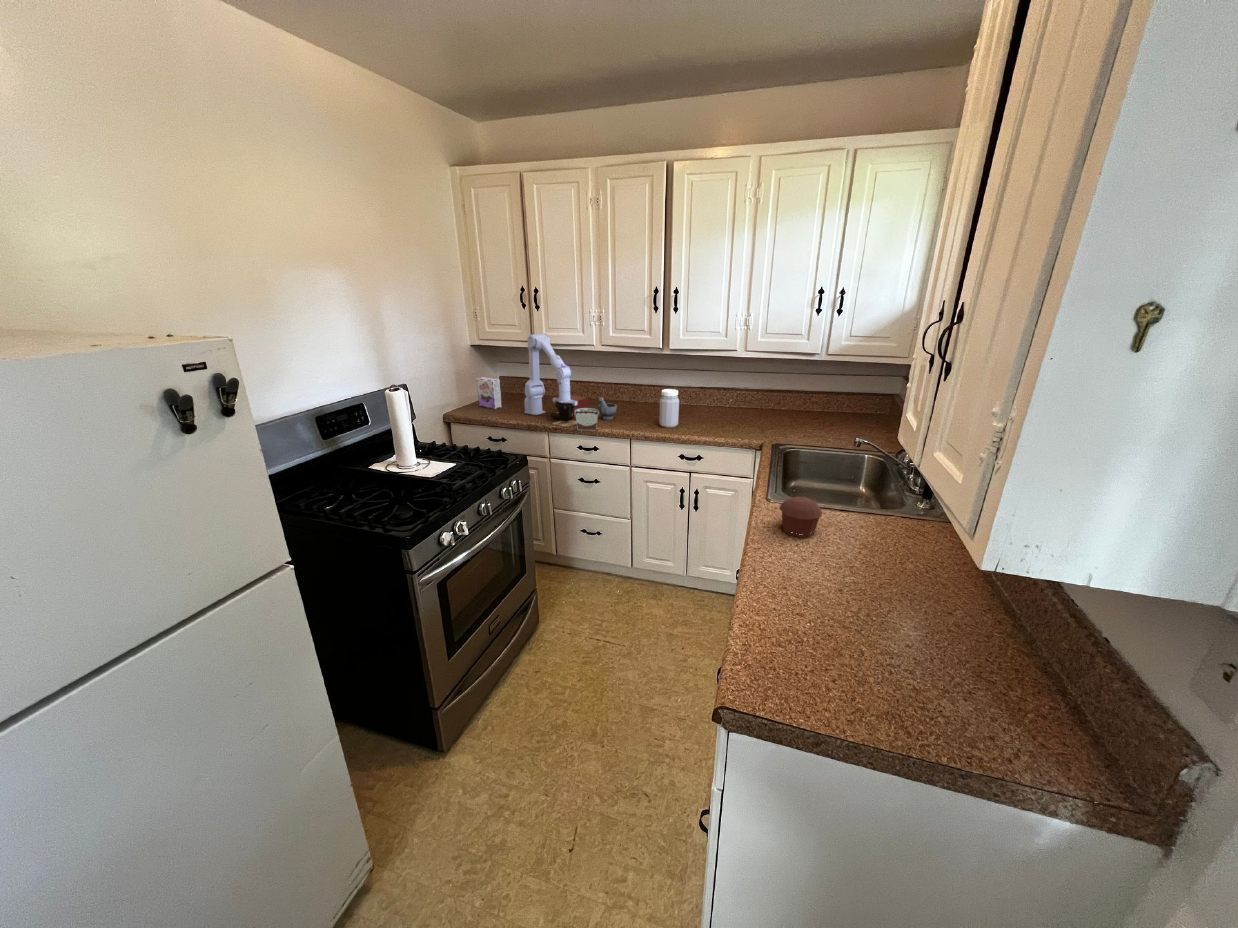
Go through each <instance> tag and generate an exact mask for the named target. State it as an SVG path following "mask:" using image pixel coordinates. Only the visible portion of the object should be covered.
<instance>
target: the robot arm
mask: <svg viewBox="0 0 1238 928" xmlns="http://www.w3.org/2000/svg"><path fill="white" fill-rule="evenodd" d="M526 341H527V350H528V365H529V366H528V369H529V380H527V381H526V382H525V384H524V395H525V398H524V412H523V413H524V414H529V415H533V416H538V415H542V414H546V412H547V411H545V410H543V397H544V395H545V393H546V390H545V389H546V388H545V386H544V382H543V381H542V380H541V378H540V377H541V375H540V351H541V350H543V352H544V353H545V354H546V356H547V357H548V358H549V363H550V365H551V367H552V368H553V370H554V371H555V377H556V381H557V383H558V397H552V403H554V406H555V408H556V409H557V412H558V411H559V407H562V406H564V405H565V404H568V405H565V407H566V410H567V417H568V418H571V416H572V412H573V409H574V407H575V406H576V405H577V401H574V400H572V399H570V395H571V378H572V376H573V370H572V368H571V367H570V366H569V365H567V364H565V362H564V361H563V359H562V358H561V356H560V355H557V353H556V352H555V351H554V349H553V346H552V345H551V338H550V337H549V335H548V334H547V333H537V334H536V333H535V334H529V335H528V336H527V340H526Z"/></svg>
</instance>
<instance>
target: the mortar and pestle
mask: <svg viewBox="0 0 1238 928" xmlns="http://www.w3.org/2000/svg"><path fill="white" fill-rule="evenodd" d="M598 401H599V405H598V411H599V415H601V419H603V420H606V421H607V420H613V419H614V415H616V412H617V409H618V405H617V404H615V403H611V402H608V403H606V401H605V398H604V397H602V396H601V397H599V398H598Z"/></svg>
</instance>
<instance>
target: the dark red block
mask: <svg viewBox="0 0 1238 928" xmlns="http://www.w3.org/2000/svg"><path fill="white" fill-rule="evenodd" d="M570 399H572V400H574V401H577V405H576V406H575V407H574V409H573V412H572V413H573V416H572V419H576V415H575V414H574V412H575V410H576V409H580V408H588V397H586V396H580V395H572V394H570ZM565 405H568V404H565ZM565 405H564V406H565ZM557 412H559V411H558V410H557Z"/></svg>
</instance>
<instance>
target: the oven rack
mask: <svg viewBox="0 0 1238 928" xmlns="http://www.w3.org/2000/svg"><path fill="white" fill-rule="evenodd" d="M549 414H550V415H549V416H550V418H553V419H558V420H560V414H559V412H558V411H556V412H555V411H550V413H549ZM572 416H573V413H572Z"/></svg>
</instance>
